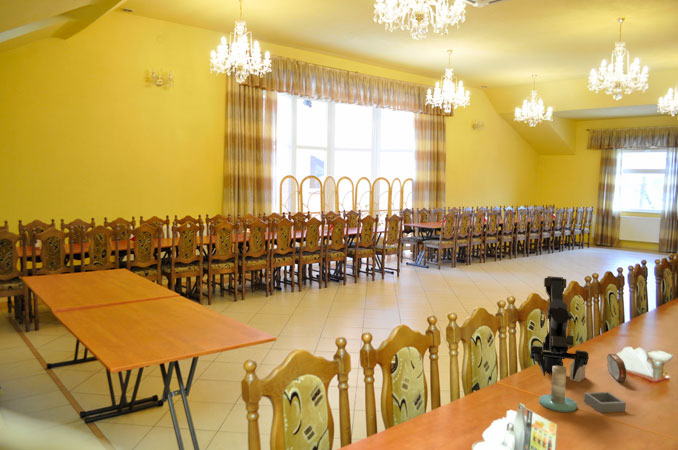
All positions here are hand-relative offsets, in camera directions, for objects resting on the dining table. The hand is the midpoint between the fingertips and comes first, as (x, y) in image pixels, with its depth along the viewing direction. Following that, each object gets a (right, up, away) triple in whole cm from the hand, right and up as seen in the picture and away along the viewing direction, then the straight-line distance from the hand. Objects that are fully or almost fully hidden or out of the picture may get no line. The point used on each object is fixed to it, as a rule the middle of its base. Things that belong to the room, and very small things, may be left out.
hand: (558, 377), depth 174 cm
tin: (+34, -8, +26) cm, 44 cm away
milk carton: (+18, -8, +25) cm, 32 cm away
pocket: (+15, -10, -1) cm, 18 cm away
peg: (0, -8, +1) cm, 8 cm away
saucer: (0, -9, +1) cm, 9 cm away
